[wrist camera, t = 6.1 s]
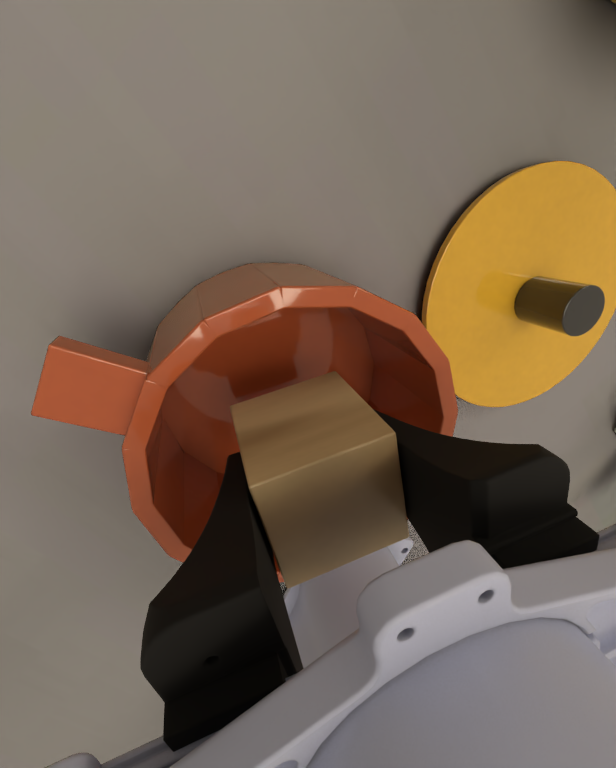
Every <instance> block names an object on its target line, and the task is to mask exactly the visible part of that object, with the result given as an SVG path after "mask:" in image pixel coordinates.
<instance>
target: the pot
mask: <svg viewBox="0 0 616 768" xmlns="http://www.w3.org/2000/svg"><path fill="white" fill-rule="evenodd" d="M333 371H336V372H337V373H338V374H339V375H340V376H341V377H342V378H343V379H344V380H345V381H346V382H347V383H348V384H349V385H350V386H351V387H352V388H353V389H354V391H355V392H356V393H357V394H358V395H359V396H360V397H361V398H362V399H363V400H364V401H365V402H366V403H367V404H368V405H369V406H370V407H371V408H372V409H374V410H377V411H379V412H381V413H384V414H386V415H388V416H390V417H393V418H395V419H398V420H400V421H403V422H405V423H408V424H410V425H413V426H416V427H419V428H422V429H425V430H428V431H431V432H435V433H439V434H443V435H447V436H451V437H453V432H454V428H455V424H456V419H457V415H458V413H457V412H458V407H457V402H456V396H455V390H454V385H453V379H452V373H451V368H450V362H449V359H448V358H447V356H446V355H445V354H444V352H443V351H442V350H441V348H440V347H439V346H438V344H437V343H436V342H435V340H434V339H433V337H432V336H431V335H430V333H429V332H428V331H427V329H426V328H425V327H424V325H423V324H422V323H421V321H420V320H419V319H418V317H417V316H416V315H414V314H413V313H412V312H410V311H408V310H405V309H403V308H401V307H399V306H397V305H395V304H393V303H391V302H389V301H387V300H385V299H383V298H381V297H378V296H376V295H374V294H372V293H370V292H368V291H366V290H364V289H362V288H360V287H358V286H355V285H353V284H350V283H348V282H345V281H343V280H340V279H338V278H335V277H333V276H330V275H328V274H325V273H323V272H321V271H318V270H316V269H313V268H311V267H308V266H306V265H302V264H286V263H275V262H271V263H250V264H245V265H243V266H239V267H236V268H233V269H230V270H227V271H224V272H222V273H220V274H218V275H216V276H214V277H212V278H209V279H207V280H206V281H204V282H202V283H200V284H198V285H197V286H195V287H194V288H193V289H192V290H191V291H190V292H189V293H188V294H186V295H185V296H184V297H183V298H182V299H181V300H180V301H179V302H178V303H177V304H176V305H175V306H174V308H173V309H172V310H171V311H170V312H169V314H168V315H167V316H166V317H165V318H164V320H163V321H162V322H161V323H160V324H159V325H158V327H157V330H156V333H155V336H154V339H153V342H152V345H151V347H150V351H149V354H148V357H147V360H146V361H143V360H139V359H136V358H133V357H129V356H126V355H123V354H119V353H116V352H113V351H109V350H106V349H103V348H99V347H96V346H92V345H89V344H86V343H82V342H79V341H76V340H72V339H69V338H66V337H62V336H58V337H57V338H56V339H55V340H54V341H53V342H52V343H50V344H49V346H48V349H47V353H46V357H45V361H44V365H43V369H42V372H41V376H40V380H39V384H38V388H37V392H36V395H35V399H34V403H33V407H32V411H31V415H33V416H37V417H42V418H47V419H51V420H56V421H60V422H65V423H70V424H74V425H79V426H83V427H88V428H93V429H97V430H102V431H106V432H111V433H116V434H120V435H125V437H124V441H123V444H122V454H123V460H124V466H125V472H126V478H127V484H128V490H129V495H130V501H131V507H132V510H133V512H134V514H135V515H136V516H137V517H138V519H139V520H140V521H141V522H142V524H143V525H144V526H145V527H146V528H147V530H148V531H149V532H150V533H151V535H152V536H153V537H154V538H155V540H156V541H157V542H158V543H159V544H160V546H161V547H162V548H163V549H164V551H165V552H166V553H167V554H168V555H169V556H170V557H172V558H174V559H176V560H179V561H181V562H183V563H184V561H185V560H186V559H187V557H188V556H189V554H190V553H191V551H192V549H193V548H194V546H195V544H196V543H197V541H198V539H199V537H200V536H201V534H202V532H203V530H204V528H205V526H206V524H207V522H208V520H209V517H210V515H211V513H212V510H213V508H214V505H215V502H216V500H217V497H218V494H219V491H220V487H221V484H222V481H223V477H224V473H225V468H226V463H227V458H228V456H229V455H231V454H234V453H237V452H240V449H239V445H238V441H237V436H236V432H235V428H234V424H233V420H232V415H231V411H230V406H231V405H234V404H237V403H240V402H243V401H246V400H249V399H252V398H255V397H258V396H261V395H264V394H267V393H270V392H273V391H276V390H279V389H282V388H285V387H288V386H291V385H294V384H297V383H300V382H303V381H306V380H309V379H312V378H315V377H318V376H321V375H324V374H327V373H330V372H333ZM407 520H408V518H407ZM273 555H274V553H273ZM274 561H275V567H276V571H277V576H278V580H279V583H281V582H284V580H283V577H282V575H281V572H280V569H279V567H278V564H277V561H276V559H275V556H274ZM333 570H334V569H333ZM331 571H332V570H331Z"/></svg>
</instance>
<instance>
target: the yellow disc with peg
mask: <svg viewBox="0 0 616 768" xmlns="http://www.w3.org/2000/svg"><path fill="white" fill-rule="evenodd" d="M615 309H616V190H615V188H614V187H613V186H612V184H611V183H610V182H609V181H608V180H607V179H606V178H605V177H604V176H603V175H601V174H600V173H599V172H597V171H596V170H594V169H592V168H590V167H588V166H586V165H584V164H580V163H575V162H571V161H552V162H545V163H539V164H534V165H531V166H528V167H525V168H522V169H519V170H517V171H515V172H513V173H511V174H509V175H507V176H505V177H504V178H502V179H501V180H499V181H498V182H496V183H495V184H493V185H492V186H490V187H489V188H488V189H487V190H486V191H485V192H483V193H482V194H481V195H480V196H479V197H478V198H477V199H475V200H474V202H473V203H472V204H471V205H470V206H469V207H468V208H467V209H466V210H465V212H464V213H463V214H462V215H461V216H460V218H459V219H458V220H457V222H456V223H455V225H454V226H453V227H452V229H451V230H450V232H449V234H448V235H447V237H446V239H445V241H444V242H443V244H442V246H441V248H440V250H439V252H438V254H437V256H436V259H435V261H434V263H433V266H432V269H431V272H430V275H429V278H428V281H427V285H426V289H425V294H424V299H423V308H422V324H423V325H424V327H425V328H426V329H427V331H428V332H429V333H430V335H431V336H432V337H433V339H434V340H435V342H436V343H437V344H438V346H439V347H440V348H441V350H442V351H443V352H444V354H445V355H446V356H447V358H448V359H449V362H450V368H451V373H452V379H453V385H454V390H455V395H456V396H458V397H459V398H461V399H463V400H465V401H467V402H469V403H472V404H476V405H479V406H486V407H504V406H510V405H515V404H518V403H522V402H525V401H527V400H530V399H532V398H534V397H536V396H538V395H540V394H542V393H544V392H546V391H547V390H549V389H550V388H552V387H553V386H555V385H556V384H558V383H559V382H560V381H561V380H563V379H564V378H565V377H566V376H567V375H569V374H570V373H571V372H572V371H573V370H574V369H575V368H576V367H577V366H578V365H579V364H580V363H581V362H582V361H583V359H584V358H585V357H586V356H587V355H588V353H589V352H590V351H591V350H592V348H593V347H594V346H595V344H596V343H597V341H598V340H599V339H600V337H601V335H602V334H603V332H604V330H605V329H606V327H607V325H608V323H609V321H610V319H611V317H612V315H613V313H614V311H615Z"/></svg>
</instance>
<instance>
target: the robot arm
mask: <svg viewBox="0 0 616 768" xmlns="http://www.w3.org/2000/svg"><path fill="white" fill-rule="evenodd" d="M373 410H374V409H373ZM374 411H375V412H376V413H377V414H378V415H379V416H380V417H381V418H382V419H383V420H384V421H385V422H386V423H387V424H388V425H389V426H390V427H391V428H392V429H393V431H394V432H395V433H396V439H397V447H398V454H399V462H400V470H401V477H402V485H403V492H404V500H405V508H406V515H407V518H408V519H409V521H410V522H411V524H412V525H413V527H414V528H415V530H416V532H417V533H418V535H419V536H420V538H421V539H422V541H423V543H424V544H425V546H426V548H427V549H428V551H429V553H428V554H426V555H424V556H421V557H419V558H417V559H415V560H412V561H410V562H408V563H406V564H403V565H401V564H402V562H403V561H404V559H405V557H406V556H407V554H408V553H409V551H410V549H411V548H412V546H413V541H412V539H411V538H410V537H408V538H406V539H404V540H401V541H399V542H397V543H394V544H392V545H390V546H387V547H385V548H382V549H380V550H378V551H375V552H373V553H371V554H368V555H366V556H364V557H361V558H359V559H357V560H354V561H352V562H350V563H347V564H345V565H343V566H340V567H338V568H336V569H334V570H332V571H329V572H326V573H324V574H322V575H319V576H317V577H315V578H312V579H310V580H308V581H305V582H303V583H301V584H298V585H296V586H294V587H291V588H287V590H286V592H285V594H284V596H283V594H282V590H281V587H280V583H279V580H278V576H277V571H276V567H275V561H274V555H273V551H272V548H271V546H270V543H269V540H268V538H267V535H266V532H265V530H264V527H263V524H262V522H261V519H260V517H259V514H258V511H257V509H256V506H255V503H254V501H253V498H252V495H251V493H250V490H249V487H248V483H247V479H246V475H245V470H244V466H243V462H242V458H241V453H240V452H237V453H234V454H231V455H229V456H228V458H227V463H226V468H225V473H224V477H223V481H222V484H221V487H220V491H219V494H218V497H217V500H216V502H215V505H214V508H213V510H212V513H211V515H210V517H209V520H208V522H207V524H206V526H205V528H204V530H203V532H202V534H201V536H200V537H199V539H198V541H197V543H196V544H195V546H194V548H193V549H192V551H191V553H190V554H189V556H188V557H187V559H186V560H185V561H184V563H183V564H182V566H181V567H180V568H179V570H178V571H177V572H176V574H175V575H174V576H173V577H172V579H171V580H170V581H169V582H168V583H167V584H166V586H165V587H164V588H163V589H162V590H161V591H160V593H159V594H158V595H157V596H156V597H155V598H154V599H153V600H152V601H151V603H150V604H149V609H148V613H147V617H146V621H145V626H144V631H143V639H142V650H141V670H142V672H143V674H144V676H145V678H146V679H147V680H148V682H149V683H150V684H151V685H152V687H153V688H154V689H155V691H156V692H157V693H158V694H159V696H160V697H161V698H162V700H163V701H164V702H165V709H164V734H163V736H161V737H159V738H157V739H155V740H153V741H151V742H148V743H146V744H144V745H142V746H140V747H138V748H136V749H133V750H131V751H129V752H127V753H125V754H123V755H121V756H119V757H116V758H114V759H112V760H110V761H108V762H106V763H104V764H100V763H99V761H98V760H97V759H96V758H95V757H94V756H93V755H91V754H89V753H78V754H74V755H71V756H69V757H67V758H65V759H62V760H60V761H58V762H56V763H54V764H51V765H49V766H47V767H45V768H616V524H614V525H612V526H610V527H608V528H606V529H604V530H601V531H599V532H597V533H596V532H595V531H594V530H592V529H591V528H590V527H588V526H587V525H586V524H585V523H583V522H582V521H581V520H579V519H578V518H577V517H576V516H577V514H578V512H577V510H576V509H575V508H573V507H572V506H571V505H569V504H568V503H567V498H568V490H569V483H570V471H569V468H568V466H567V464H566V463H565V462H564V461H563V460H562V459H561V458H559V457H558V456H556V455H554V454H553V453H551V452H550V451H548V450H547V449H545V448H544V447H542V446H540V445H538V444H502V443H489V442H480V441H473V440H467V439H461V438H456V437H451V436H447V435H443V434H439V433H435V432H431V431H428V430H425V429H422V428H419V427H416V426H413V425H410V424H408V423H405V422H403V421H400V420H398V419H395V418H393V417H390V416H388V415H386V414H384V413H381V412H379V411H377V410H374ZM400 565H401V566H400Z"/></svg>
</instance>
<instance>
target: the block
mask: <svg viewBox="0 0 616 768" xmlns="http://www.w3.org/2000/svg"><path fill="white" fill-rule="evenodd" d="M230 411H231V415H232V420H233V424H234V428H235V432H236V436H237V441H238V445H239V449H240V453H241V458H242V462H243V466H244V470H245V475H246V479H247V483H248V487H249V490H250V493H251V495H252V498H253V501H254V503H255V506H256V509H257V511H258V514H259V517H260V519H261V522H262V524H263V527H264V530H265V532H266V535H267V538H268V540H269V543H270V546H271V548H272V551H273V553H274V556H275V559H276V561H277V564H278V567H279V569H280V572H281V575H282V577H283V580H284V582H285V585H286V587H287V588H291V587H294V586H296V585H298V584H301V583H303V582H305V581H308V580H310V579H312V578H315V577H317V576H319V575H322V574H324V573H326V572H329V571H331V570H333V569H336V568H338V567H340V566H343V565H345V564H347V563H350V562H352V561H354V560H357V559H359V558H361V557H364V556H366V555H368V554H371V553H373V552H375V551H378V550H380V549H382V548H385V547H387V546H390V545H392V544H394V543H397V542H399V541H401V540H404V539H406V538H408V537H409V530H408V523H407V515H406V508H405V500H404V492H403V485H402V477H401V470H400V462H399V454H398V447H397V439H396V433H395V432H394V431H393V429H392V428H391V427H390V426H389V425H388V424H387V423H386V422H385V421H384V420H383V419H382V418H381V417H380V416H379V415H378V414H377V413H376V412H375V411H374V410H373V409H372V408H371V407H370V406H369V405H368V404H367V403H366V402H365V401H364V400H363V399H362V398H361V397H360V396H359V395H358V394H357V393H356V392H355V391H354V389H353V388H352V387H351V386H350V385H349V384H348V383H347V382H346V381H345V380H344V379H343V378H342V377H341V376H340V375H339V374H338V373H337V372H336V371H333V372H330V373H327V374H324V375H321V376H318V377H315V378H312V379H309V380H306V381H303V382H300V383H297V384H294V385H291V386H288V387H285V388H282V389H279V390H276V391H273V392H270V393H267V394H264V395H261V396H258V397H255V398H252V399H249V400H246V401H243V402H240V403H237V404H234V405H231V406H230Z"/></svg>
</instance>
